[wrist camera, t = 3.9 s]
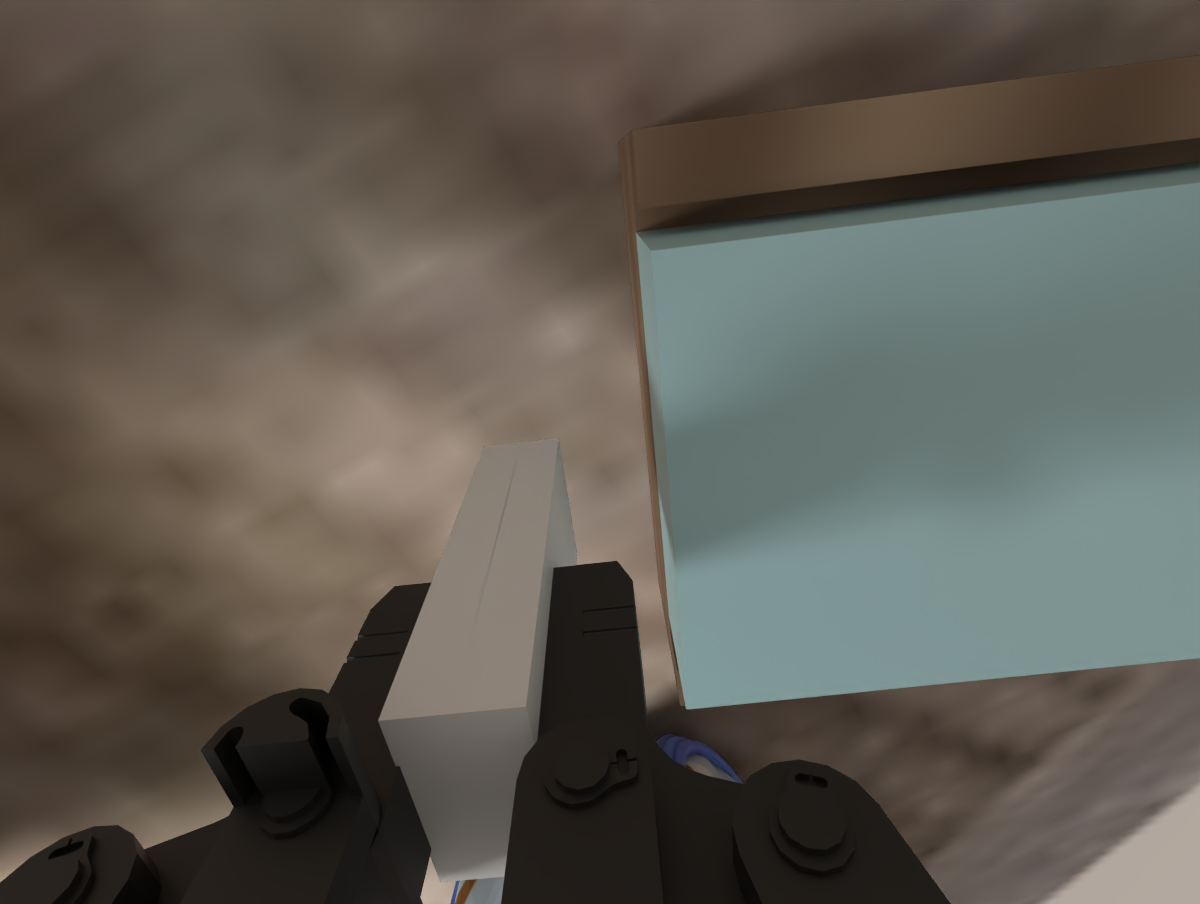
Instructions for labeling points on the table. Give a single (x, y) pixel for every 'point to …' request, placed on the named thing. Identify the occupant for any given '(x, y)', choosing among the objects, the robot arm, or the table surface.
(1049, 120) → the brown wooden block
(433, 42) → the table surface
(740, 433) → the teal rectangular block
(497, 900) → the lunch box
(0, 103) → the table surface
